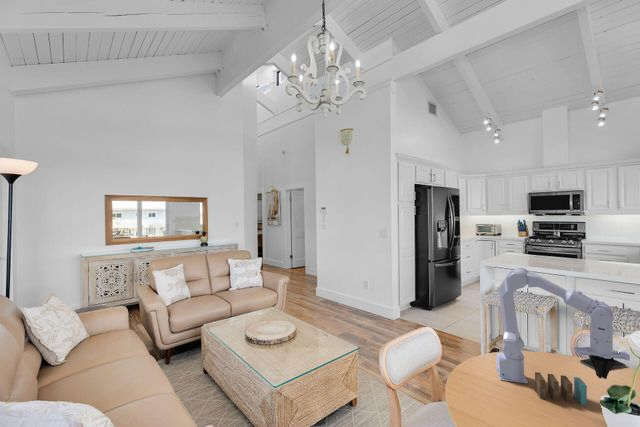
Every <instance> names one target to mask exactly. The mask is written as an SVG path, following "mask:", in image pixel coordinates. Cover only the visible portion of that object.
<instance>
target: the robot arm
mask: <svg viewBox="0 0 640 427" xmlns="http://www.w3.org/2000/svg"><path fill="white" fill-rule="evenodd" d="M500 283H501V284H500V285H499V287H498V295H499V301H500V302H499V303H500V311H501V316H502V317H501V318H502V324H503V327H502V328H503V339H502V340H503V343H502V346H501V350H502V352H497V353H496V354H495V360H496V361H495V363H496V368H495V371H496V372H497V376H498V377H499V380H501V381H504V382H505V381H506V382H513V383H514V382H515V383H520V384H529V382H528V380H527V378H526V377H525V355H524V353H523V352H522V351H523V349H524V347H525V342H524V340H523V339H522V337H521V333H520V332H519V326H518V321H517V320H518V318H517V313H516V312H517V311H516V304H515V297H514V293H515V292H516V291H517V290H519V289H523V288H525V287H526V286H527V287H528V288H540V289H542V290H544V291H546V292H548V293H550V294H552V295H555V296H557V297H559V298H561V299H562V300H563V302H564V304H566V305H568V306H570V307H571V308H574V309H575V310H576V311H580V312H581V313H583V314H585V315H589V316H590V323H589V346H584V347H576V346H575V347H574V348H573V349H574V351H573V353H574V354H575V355H577V356H588V359H590V360H591V361H592V363H593V366H594V368H595V370H594V371H595V375H596V377H598V379H604V380H607V377H608V375H609V373H610V371H611V370H610V369H611V368H612V367H613V366H614V365H615V363H616V361H615V360H616V359H619V360H625V361H629V362H630V361H631V356H630V354H629V353H627V352H626V351H620V352H619V353H618V351H619V350H614V348H613V346H614V344H613V338H614V336H613V334H614V332H613V330H614V329H613V328H614V327H613V321H614V320H615V319H614V313H613V310H612V308H611V307H610V306H609V304H607V303H606V302H604V301H600V300H598V299H597V298H595V299H594V298H591V297H589V296H587V295H585V294H583V292H582V291H580V290H577V291H576V290H574V289H570V290H567V289H565V288H563V287H562V286H560V285H558V284H555V283H554V282H552V281H550V280H548V279H546V278H544V277H543V276H541V275H539V274H538V273H535V272H533V271H531V270H529V271H528V270H527V269H526V268H523V267H517V268H514V269H513V270H511V271H510V272H509V273H508V274H507V275H506V276H505V278H504V279H503V281H502V282H500Z"/></svg>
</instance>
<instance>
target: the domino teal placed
mask: <svg viewBox="0 0 640 427" xmlns="http://www.w3.org/2000/svg"><path fill="white" fill-rule="evenodd" d="M573 378H574V379H573V383H574V384H573V396H574V397H575V399H576V401H578V402H579V404H580V405H581V406H588V398H587V397H588V395H587V391H588V386H587V384H586V383H585V382H584V381H583V380H582V379H581V377H578V376H573Z"/></svg>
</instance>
